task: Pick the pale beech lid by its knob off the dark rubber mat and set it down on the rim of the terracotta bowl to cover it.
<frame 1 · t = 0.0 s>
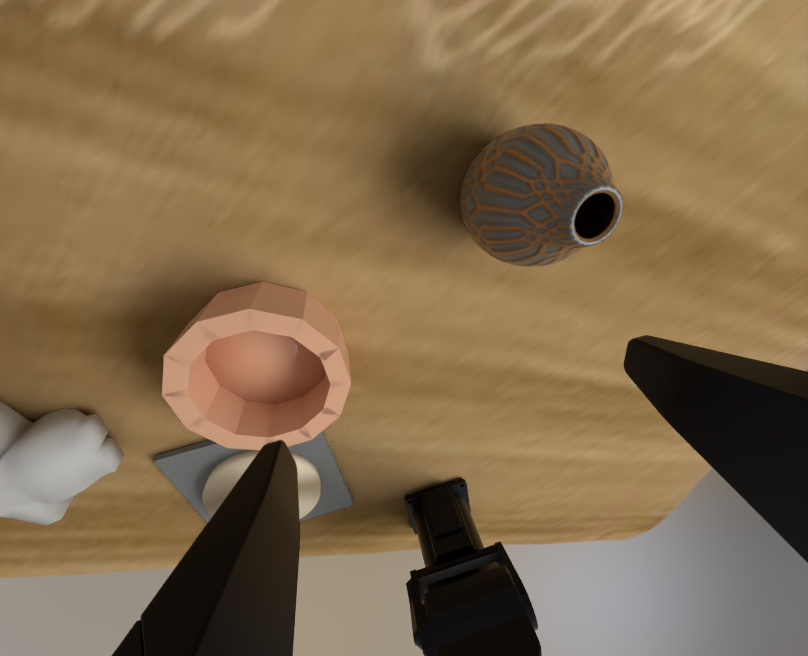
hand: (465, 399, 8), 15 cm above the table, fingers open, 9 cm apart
mat: (267, 479, 28), on the table
bowl: (271, 352, 23), on the table
lid: (265, 485, 28), point 1 cm above the table, touching mat
vase: (497, 191, 21), on the table
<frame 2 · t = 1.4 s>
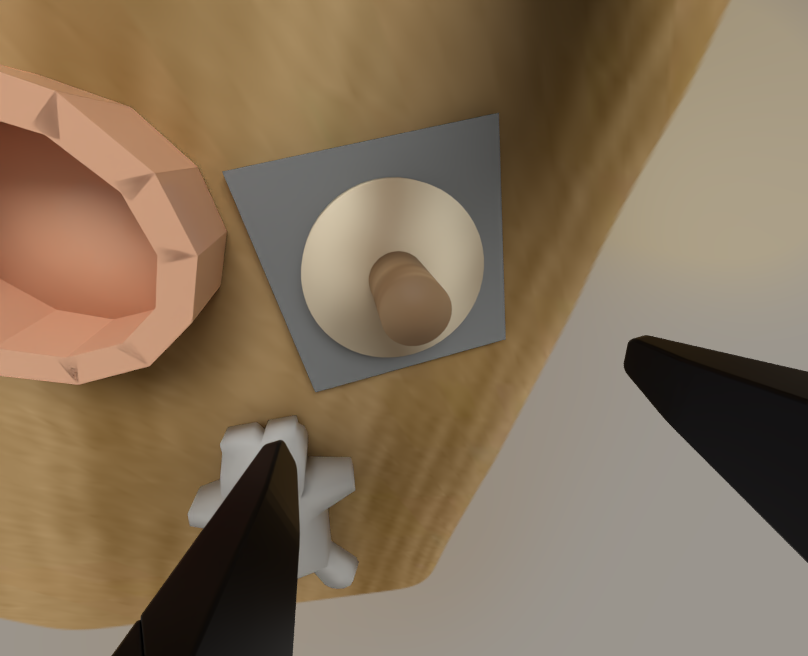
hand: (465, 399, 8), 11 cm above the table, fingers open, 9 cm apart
mat: (391, 269, 17), on the table
bowl: (92, 227, 14), on the table
lid: (393, 273, 17), point 1 cm above the table, touching mat
bunny figurine: (290, 484, 24), on the table
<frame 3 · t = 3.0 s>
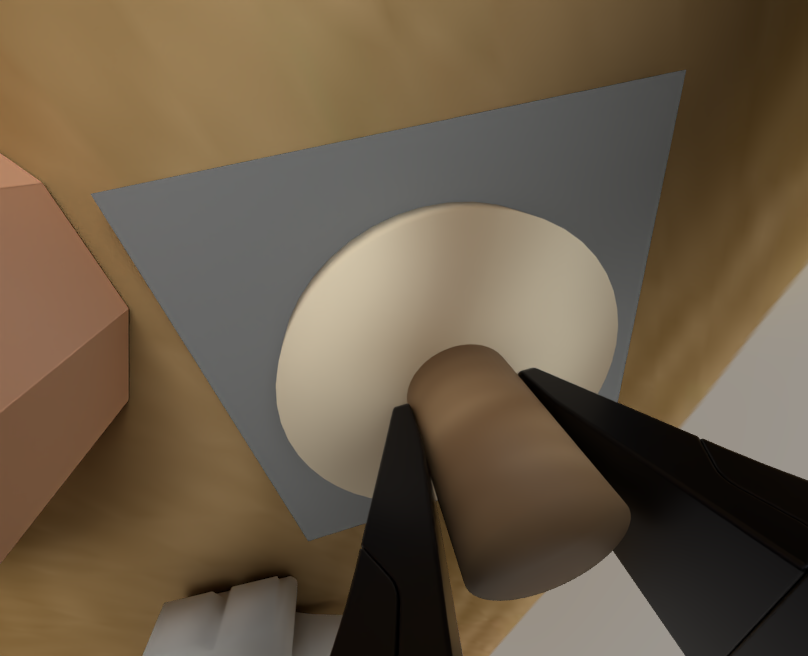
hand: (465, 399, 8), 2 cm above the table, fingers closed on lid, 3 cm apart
mat: (440, 356, 10), on the table
lid: (447, 368, 9), point 1 cm above the table, touching gripper, mat
bunny figurine: (272, 634, 17), on the table
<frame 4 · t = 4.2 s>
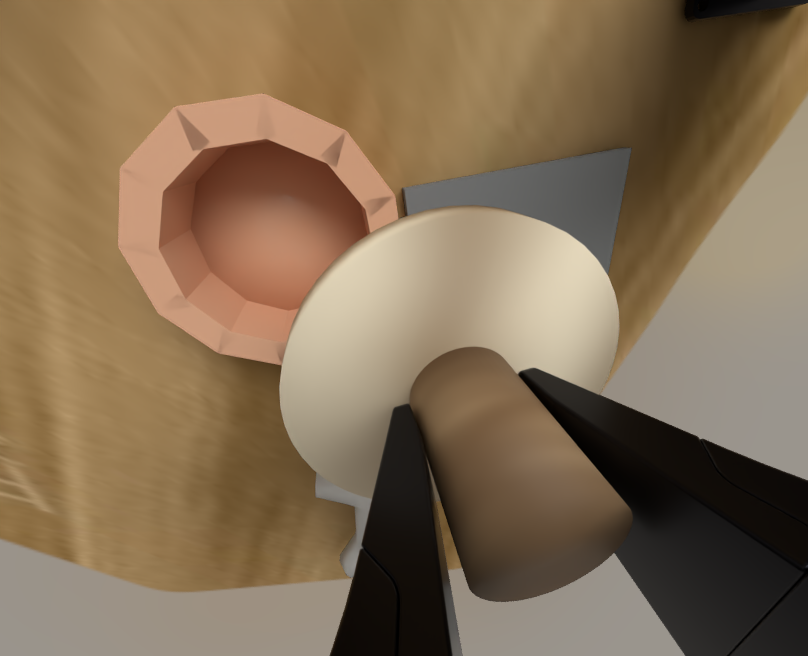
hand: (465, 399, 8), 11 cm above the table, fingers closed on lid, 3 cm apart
mat: (512, 276, 20), on the table
bowl: (286, 231, 16), on the table
lid: (449, 369, 9), point 10 cm above the table, touching gripper
bunny figurine: (381, 466, 26), on the table
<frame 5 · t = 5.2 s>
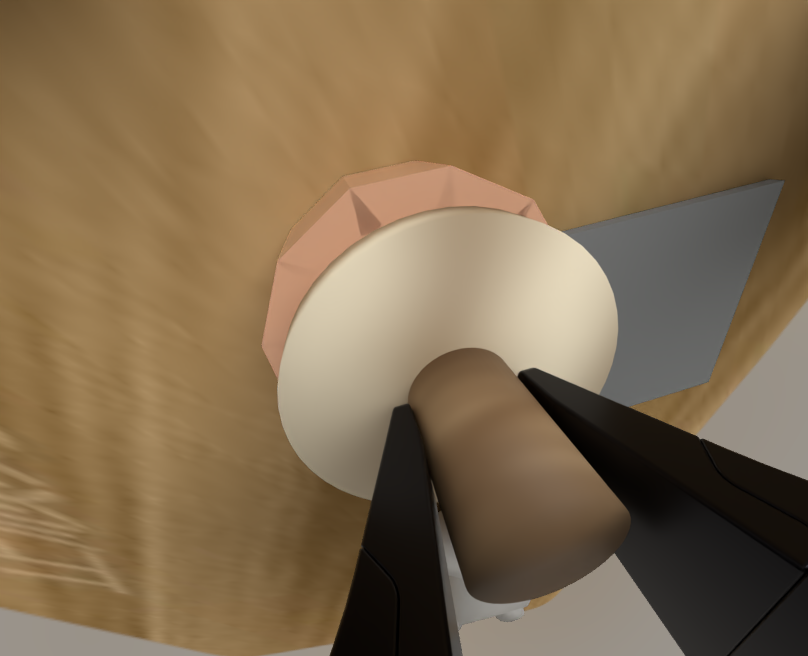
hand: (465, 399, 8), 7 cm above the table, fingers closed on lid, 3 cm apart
mat: (632, 321, 18), on the table
bowl: (404, 293, 14), on the table
lid: (448, 370, 9), point 6 cm above the table, touching gripper
bunny figurine: (466, 519, 24), on the table
when the fingers open (7 cm above the table, at t = 5.9 s): lid drops 1 cm, resting on bowl.
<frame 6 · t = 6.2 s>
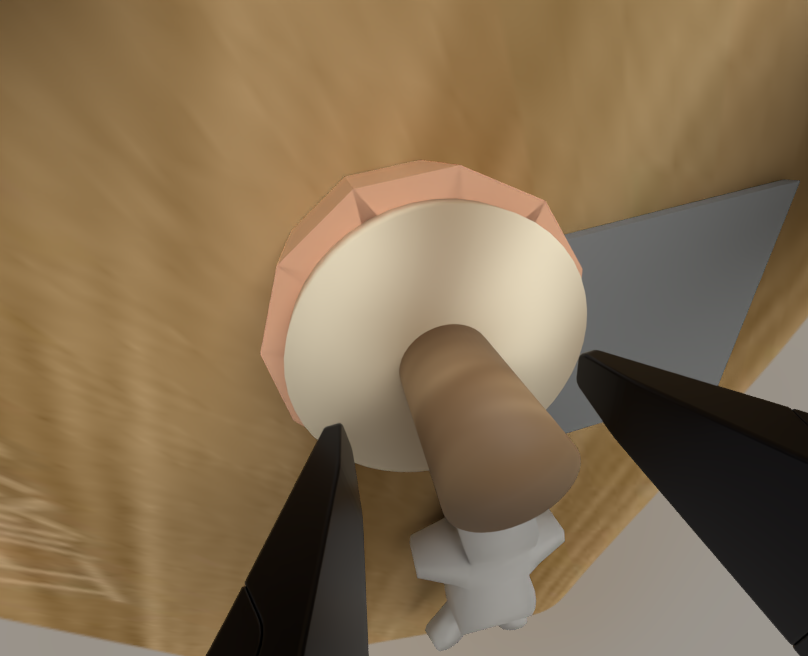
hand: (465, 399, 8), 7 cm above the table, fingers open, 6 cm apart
mat: (641, 325, 17), on the table
bowl: (407, 297, 14), on the table
lid: (436, 348, 11), point 4 cm above the table, touching bowl
bunny figurine: (468, 526, 24), on the table
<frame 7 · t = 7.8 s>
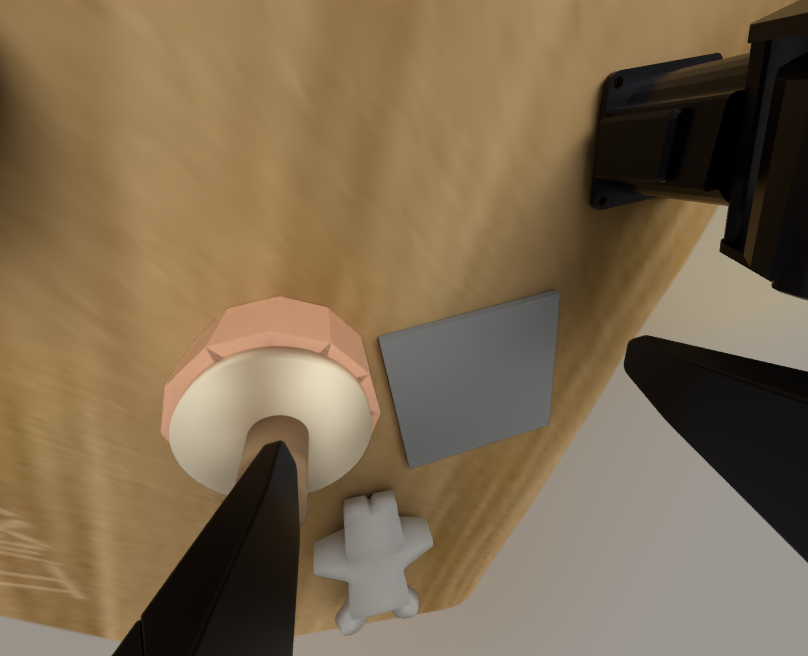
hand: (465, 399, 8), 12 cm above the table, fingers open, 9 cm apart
mat: (474, 384, 24), on the table
bowl: (285, 375, 20), on the table
lid: (280, 422, 17), point 4 cm above the table, touching bowl
bunny figurine: (370, 534, 30), on the table
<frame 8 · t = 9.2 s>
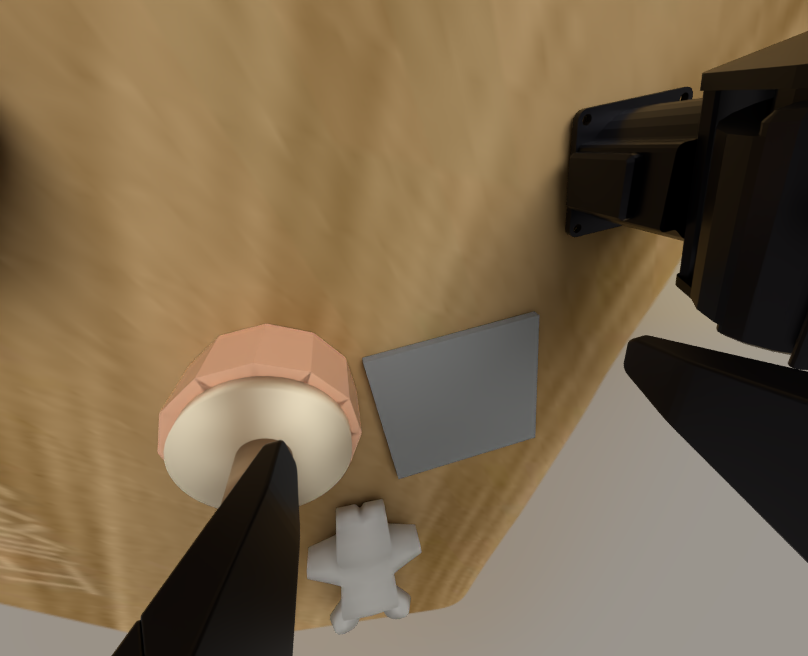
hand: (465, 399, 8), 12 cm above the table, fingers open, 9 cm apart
mat: (458, 400, 25), on the table
bowl: (275, 394, 21), on the table
lid: (267, 443, 18), point 4 cm above the table, touching bowl
bunny figurine: (363, 539, 32), on the table
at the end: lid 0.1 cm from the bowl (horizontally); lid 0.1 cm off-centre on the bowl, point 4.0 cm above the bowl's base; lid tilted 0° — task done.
